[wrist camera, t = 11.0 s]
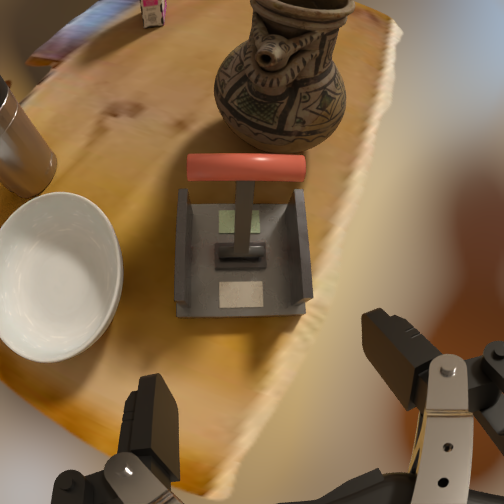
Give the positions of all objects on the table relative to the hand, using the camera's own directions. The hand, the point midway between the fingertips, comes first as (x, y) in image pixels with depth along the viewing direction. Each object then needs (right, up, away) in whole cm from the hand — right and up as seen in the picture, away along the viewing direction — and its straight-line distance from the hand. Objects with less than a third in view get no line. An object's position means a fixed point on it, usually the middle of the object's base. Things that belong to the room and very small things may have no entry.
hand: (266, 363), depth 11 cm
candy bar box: (-23, +59, +44) cm, 77 cm away
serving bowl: (-25, 0, +26) cm, 36 cm away
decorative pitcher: (+3, +23, +35) cm, 42 cm away
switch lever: (-2, +4, +24) cm, 25 cm away
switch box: (-2, +3, +28) cm, 28 cm away
